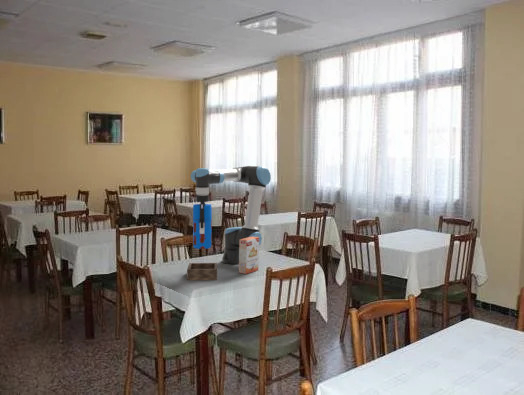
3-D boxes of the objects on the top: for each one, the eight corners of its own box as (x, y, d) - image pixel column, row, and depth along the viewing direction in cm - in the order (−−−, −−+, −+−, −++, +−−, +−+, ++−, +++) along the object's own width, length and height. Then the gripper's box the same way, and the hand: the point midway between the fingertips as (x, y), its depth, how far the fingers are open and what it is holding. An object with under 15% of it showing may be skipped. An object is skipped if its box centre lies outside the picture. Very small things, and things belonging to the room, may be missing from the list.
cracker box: (246, 274, 308) (246, 240, 306) (238, 273, 312) (238, 239, 310) (259, 270, 320) (259, 237, 318) (251, 268, 323) (251, 236, 321)
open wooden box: (217, 272, 313) (217, 262, 312) (216, 279, 296) (216, 269, 296) (189, 272, 312) (189, 263, 311) (187, 279, 295) (187, 269, 294)
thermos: (211, 248, 297) (211, 205, 295) (192, 248, 296) (192, 205, 294) (211, 245, 308) (211, 203, 306) (193, 245, 307) (193, 203, 305)
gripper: (196, 192, 310) (197, 228, 313) (194, 196, 287) (194, 235, 289) (209, 192, 311) (209, 228, 313) (208, 196, 288) (208, 235, 290)
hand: (202, 232), depth 301 cm, fingers closed on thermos, 11 cm apart
